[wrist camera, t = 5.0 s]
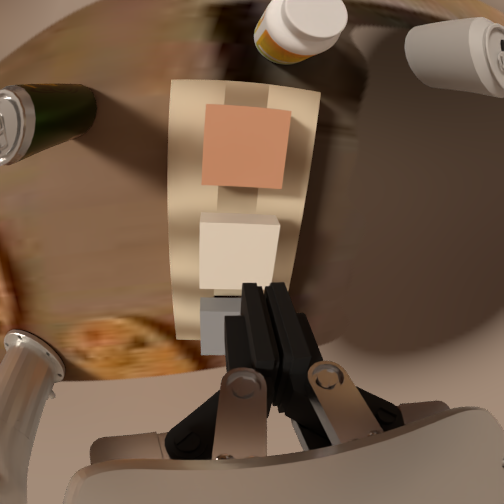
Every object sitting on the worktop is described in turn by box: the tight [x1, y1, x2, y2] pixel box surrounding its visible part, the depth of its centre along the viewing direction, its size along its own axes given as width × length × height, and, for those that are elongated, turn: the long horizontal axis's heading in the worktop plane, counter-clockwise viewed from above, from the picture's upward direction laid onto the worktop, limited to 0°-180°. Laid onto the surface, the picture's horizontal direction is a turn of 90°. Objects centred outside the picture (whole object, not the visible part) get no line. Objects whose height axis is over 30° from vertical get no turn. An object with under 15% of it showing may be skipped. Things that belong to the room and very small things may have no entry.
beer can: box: [0, 84, 97, 166], centre depth 16 cm, size 5×5×12 cm
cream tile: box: [199, 212, 280, 290], centre depth 24 cm, size 6×6×4 cm
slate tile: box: [200, 297, 241, 355], centre depth 29 cm, size 6×6×4 cm
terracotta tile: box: [201, 104, 292, 189], centre depth 21 cm, size 6×6×4 cm
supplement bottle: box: [254, 0, 348, 65], centre depth 16 cm, size 5×5×10 cm
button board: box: [167, 80, 321, 340], centre depth 28 cm, size 27×12×3 cm, turn 175°
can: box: [405, 17, 504, 98], centre depth 16 cm, size 8×8×12 cm
